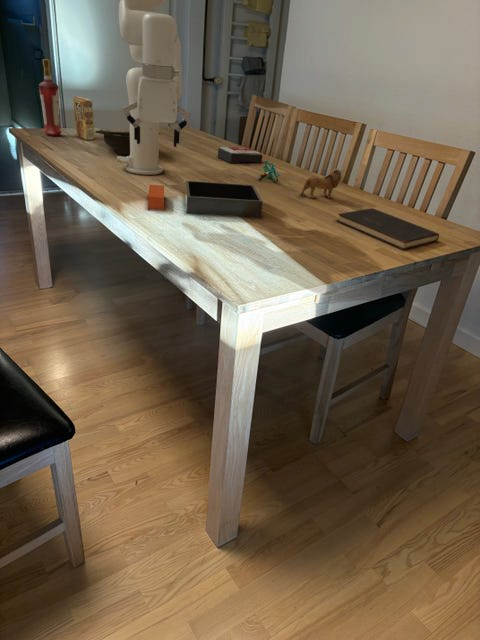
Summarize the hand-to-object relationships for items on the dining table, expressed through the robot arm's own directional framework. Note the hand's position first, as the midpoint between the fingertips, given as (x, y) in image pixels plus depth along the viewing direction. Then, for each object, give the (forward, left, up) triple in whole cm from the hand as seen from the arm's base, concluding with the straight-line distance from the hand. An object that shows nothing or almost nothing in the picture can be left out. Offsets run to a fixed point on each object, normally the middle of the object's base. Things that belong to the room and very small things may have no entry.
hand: (156, 144), depth 127 cm
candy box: (-32, +84, -16) cm, 92 cm away
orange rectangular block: (0, -1, -16) cm, 16 cm away
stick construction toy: (+38, +35, -16) cm, 54 cm away
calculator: (+32, +64, -16) cm, 74 cm away
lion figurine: (+53, +17, -16) cm, 58 cm away
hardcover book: (+64, -14, -16) cm, 67 cm away
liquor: (-45, +84, -16) cm, 97 cm away
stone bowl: (-13, +65, -16) cm, 69 cm away
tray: (+19, -1, -16) cm, 24 cm away
